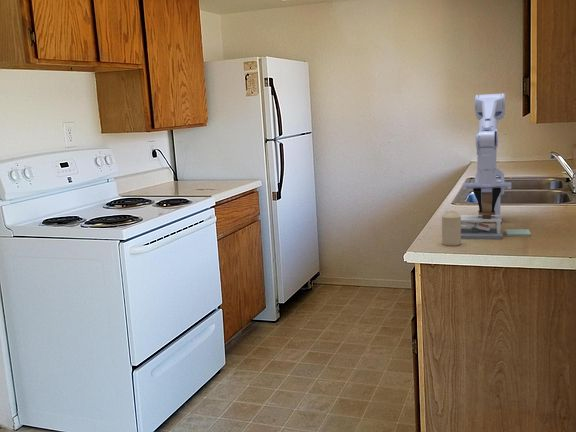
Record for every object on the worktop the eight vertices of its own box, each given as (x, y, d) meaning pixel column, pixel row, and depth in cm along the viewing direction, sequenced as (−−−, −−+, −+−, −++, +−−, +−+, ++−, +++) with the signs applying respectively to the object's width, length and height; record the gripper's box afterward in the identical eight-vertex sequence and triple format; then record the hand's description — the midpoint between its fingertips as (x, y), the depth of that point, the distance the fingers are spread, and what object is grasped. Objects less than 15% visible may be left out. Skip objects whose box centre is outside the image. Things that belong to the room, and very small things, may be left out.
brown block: (478, 221, 197) (478, 191, 196) (494, 221, 196) (494, 191, 194) (478, 224, 193) (478, 194, 191) (495, 224, 191) (495, 194, 190)
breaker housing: (450, 229, 205) (450, 213, 204) (500, 229, 200) (500, 213, 199) (448, 238, 192) (448, 221, 191) (502, 239, 187) (502, 221, 186)
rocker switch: (460, 221, 199) (461, 218, 198) (488, 228, 197) (489, 225, 196) (460, 224, 195) (461, 221, 194) (489, 231, 192) (490, 228, 192)
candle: (441, 245, 183) (440, 213, 182) (443, 241, 188) (443, 209, 187) (459, 246, 181) (459, 213, 180) (461, 242, 186) (461, 209, 185)
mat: (505, 231, 198) (505, 229, 197) (528, 231, 195) (528, 229, 195) (506, 235, 191) (506, 233, 191) (530, 236, 189) (530, 234, 189)
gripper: (462, 171, 190) (462, 214, 192) (512, 170, 185) (511, 213, 188) (462, 168, 196) (463, 209, 199) (510, 167, 192) (510, 209, 194)
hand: (486, 211), depth 194 cm, fingers closed on brown block, 3 cm apart
